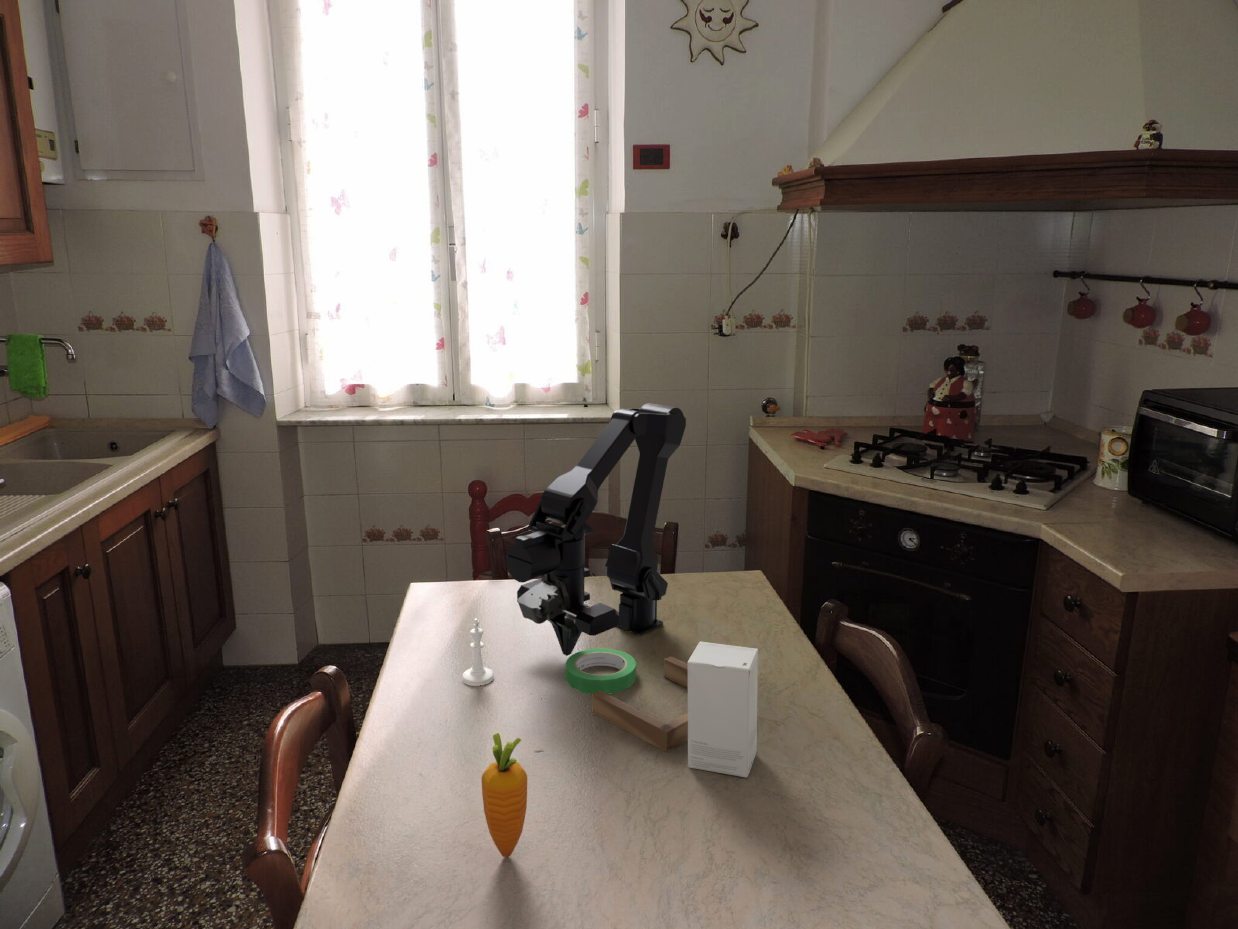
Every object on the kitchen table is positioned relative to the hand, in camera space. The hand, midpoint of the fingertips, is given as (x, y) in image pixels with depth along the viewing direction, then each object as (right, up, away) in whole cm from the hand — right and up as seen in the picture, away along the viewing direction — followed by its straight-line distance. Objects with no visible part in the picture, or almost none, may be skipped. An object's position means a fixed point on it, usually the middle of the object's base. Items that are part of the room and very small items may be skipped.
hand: (567, 654), depth 149 cm
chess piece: (-13, -3, -6) cm, 15 cm away
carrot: (-4, -13, -46) cm, 48 cm away
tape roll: (+6, -3, -5) cm, 8 cm away
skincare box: (+22, -9, -28) cm, 36 cm away
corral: (+15, -5, -14) cm, 21 cm away
